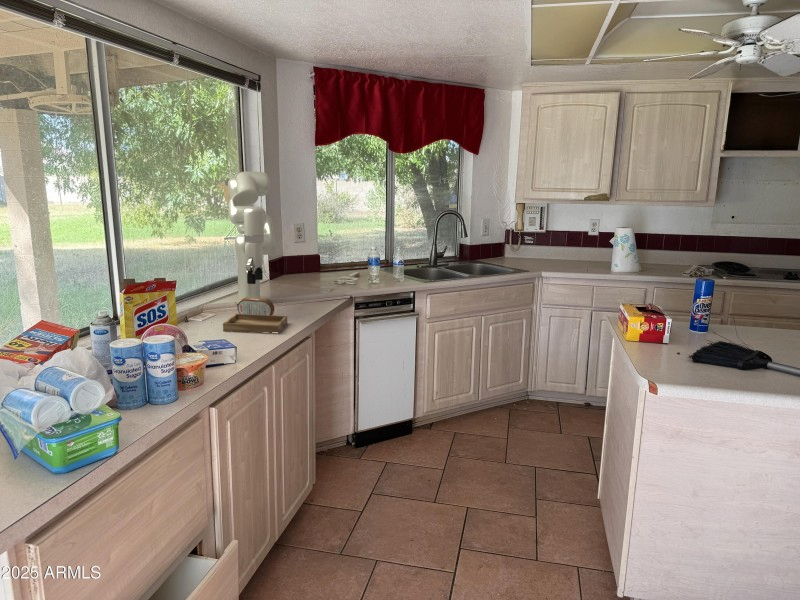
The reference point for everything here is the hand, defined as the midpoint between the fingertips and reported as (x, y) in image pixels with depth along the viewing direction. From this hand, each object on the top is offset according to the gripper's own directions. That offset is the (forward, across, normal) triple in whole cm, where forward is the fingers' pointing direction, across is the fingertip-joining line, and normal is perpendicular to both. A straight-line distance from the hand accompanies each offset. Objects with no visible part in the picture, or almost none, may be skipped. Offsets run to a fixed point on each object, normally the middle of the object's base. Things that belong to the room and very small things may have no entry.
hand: (255, 281), depth 217 cm
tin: (+16, -1, 0) cm, 16 cm away
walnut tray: (+16, +12, +4) cm, 20 cm away
